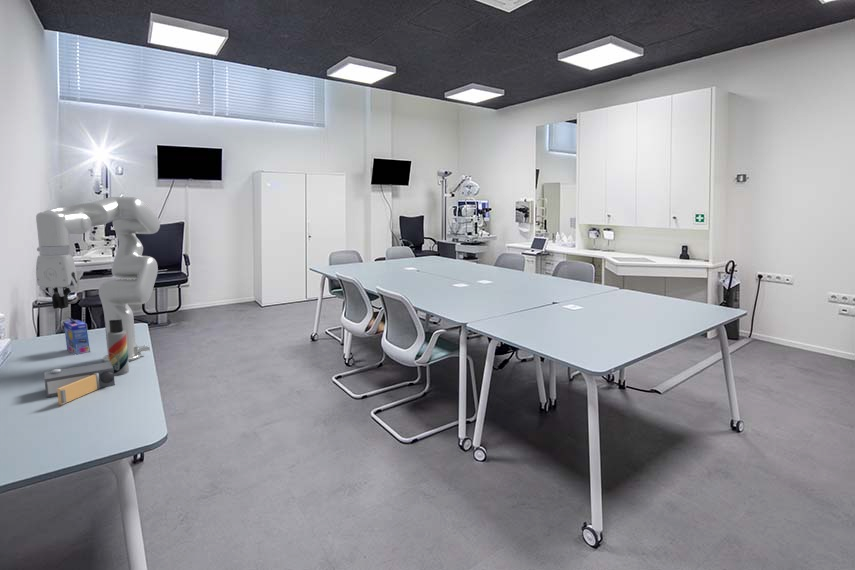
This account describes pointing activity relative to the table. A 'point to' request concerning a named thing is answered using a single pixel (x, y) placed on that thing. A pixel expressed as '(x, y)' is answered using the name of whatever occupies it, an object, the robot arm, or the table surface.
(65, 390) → the tall beige panel
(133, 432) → the table surface
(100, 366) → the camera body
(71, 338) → the ink cartridge box
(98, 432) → the table surface
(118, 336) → the lotion bottle
